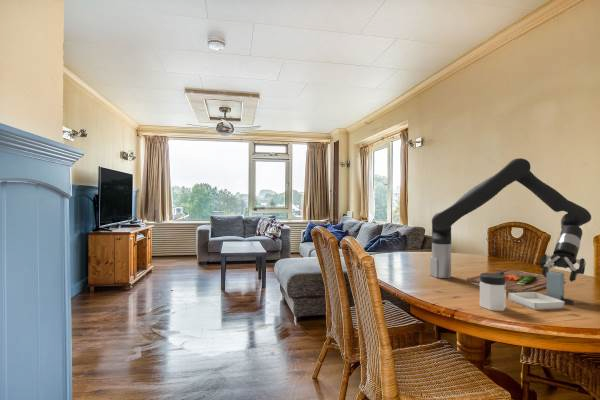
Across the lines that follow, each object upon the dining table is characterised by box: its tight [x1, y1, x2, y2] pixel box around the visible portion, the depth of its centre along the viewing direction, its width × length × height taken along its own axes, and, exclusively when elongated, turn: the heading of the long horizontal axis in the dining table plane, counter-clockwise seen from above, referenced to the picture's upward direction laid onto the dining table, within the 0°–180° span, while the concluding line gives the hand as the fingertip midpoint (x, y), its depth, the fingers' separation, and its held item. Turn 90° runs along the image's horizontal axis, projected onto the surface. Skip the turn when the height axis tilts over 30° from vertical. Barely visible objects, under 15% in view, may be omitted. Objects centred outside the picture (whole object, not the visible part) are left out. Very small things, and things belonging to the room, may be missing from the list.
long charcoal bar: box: [539, 292, 575, 305], centre depth 127 cm, size 11×2×2 cm, turn 35°
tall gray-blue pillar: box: [546, 271, 565, 300], centre depth 127 cm, size 4×5×11 cm
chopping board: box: [466, 269, 547, 293], centre depth 157 cm, size 45×27×3 cm, turn 120°
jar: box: [479, 272, 507, 312], centre depth 120 cm, size 9×8×12 cm
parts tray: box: [507, 291, 566, 311], centre depth 124 cm, size 12×12×2 cm
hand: (557, 278), depth 129 cm, fingers open, 8 cm apart
